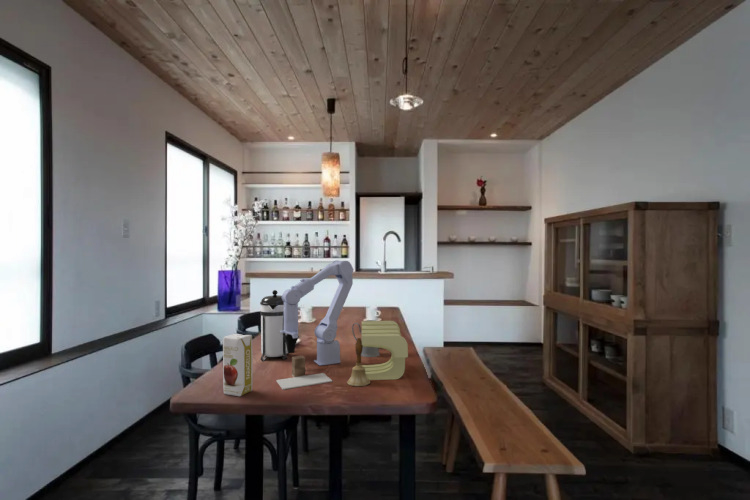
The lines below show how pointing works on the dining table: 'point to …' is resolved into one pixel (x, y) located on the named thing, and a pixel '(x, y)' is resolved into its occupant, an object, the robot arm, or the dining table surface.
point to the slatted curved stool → (389, 339)
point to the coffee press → (272, 327)
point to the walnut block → (298, 366)
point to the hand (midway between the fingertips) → (290, 352)
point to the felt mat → (303, 381)
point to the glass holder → (367, 350)
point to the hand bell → (358, 369)
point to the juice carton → (237, 364)
